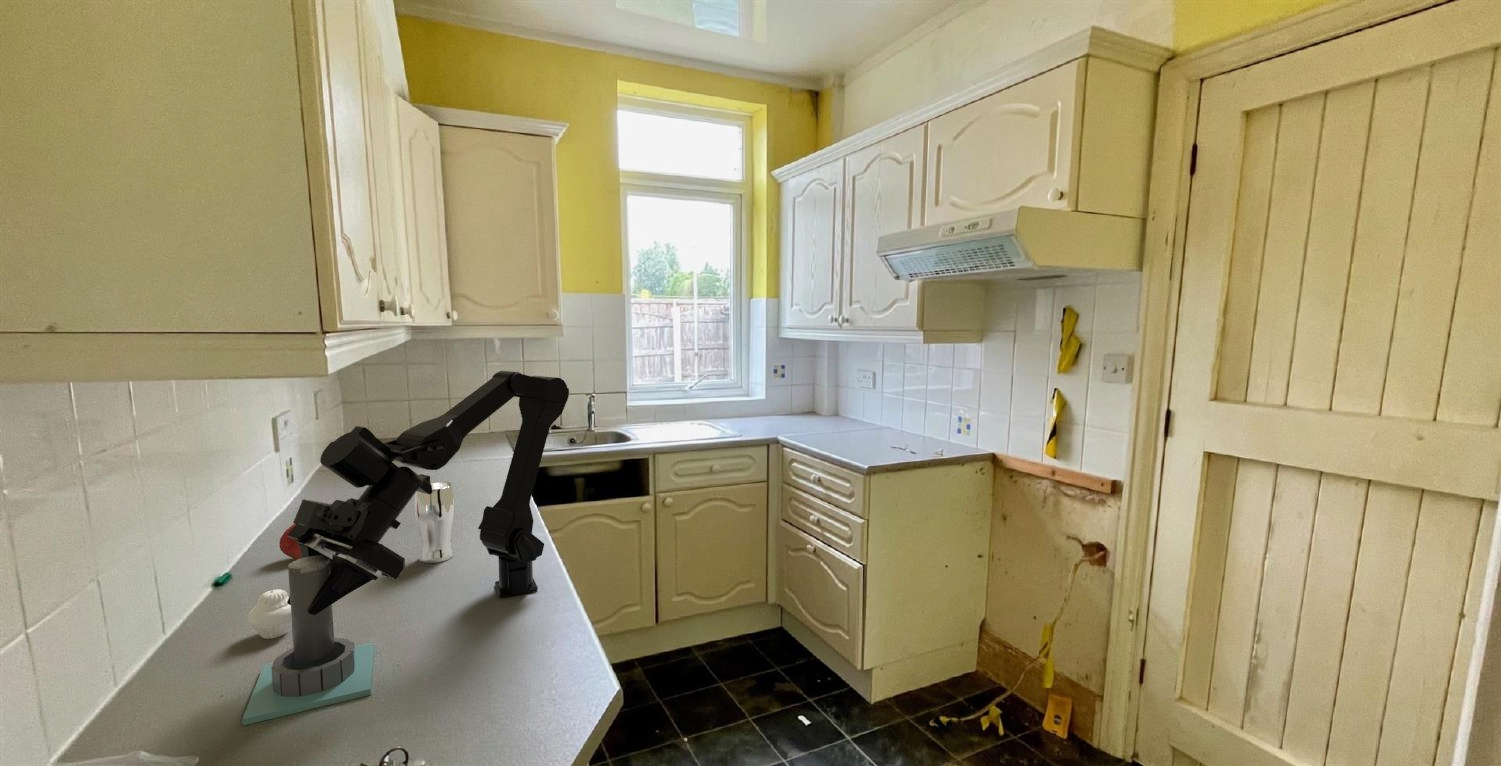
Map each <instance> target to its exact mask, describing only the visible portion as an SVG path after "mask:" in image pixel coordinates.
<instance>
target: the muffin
mask: <svg viewBox="0 0 1501 766" xmlns="http://www.w3.org/2000/svg"><path fill="white" fill-rule="evenodd" d="M257 599H258V600H257V603H256V604H255V606H254V607H253V608H252V609H251V610H250V611H249V613H248V614H247V621H248V622H249V623H250V626H251V627H252V628H253V630H255V631H256V632H257V634H258V635H259V636H260V638H262V639H269V640H271V639H276V638H279V637H281V636H284V635H286V634H287V633H288V632H289V630H290V628H292V618H291V605H289V604H288V603H287V601H288V599H289V596H288V593H287V592H286V591H285V590H283V589H280V588H279V589H271V590H268V591H265V592H264V593H262V594H261V595H260V596H259V597H258V598H257Z"/></svg>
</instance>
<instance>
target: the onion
mask: <svg viewBox="0 0 1501 766" xmlns="http://www.w3.org/2000/svg"><path fill="white" fill-rule="evenodd" d="M295 525H296V524H295V523H293V524H292V525H291V526H289V527H288V528H287V529H286V530H285V531H284V532H283V534H282V535H281V537H280V538H279V549H280V551H281V552H282V553H283V554H284V555H285V556H287V557H289V558H291V559H294V560H298V559H301V558H302V554H301V549H300V548H298V543H299V542H297V541H295V540H294V539H292V538H290V537H288V536H287V535H288V533H289V532H290V531H291V530H292V529H293V527H294V526H295Z"/></svg>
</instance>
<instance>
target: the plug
mask: <svg viewBox="0 0 1501 766" xmlns="http://www.w3.org/2000/svg"><path fill="white" fill-rule="evenodd" d="M287 571H288V583H289V585H288V586H289V588H288V589H289V596H290V603H291V618H292V625H291V630H292V633H291V634H292V645H293V646H292V648H294V659H295V660H296V661H300V662H307V661H313V660H317V659H320V658H323V657H325V656H327V655H329V654H330V653H331V652H333V650H334V649H335V645H334V638H335V633H334V632H335V629H334V614H333V611H334V610H333V604H332V605H330V606H328V607H327V608H325V609H324V610H322V611H321V612H319V613H318V614H316V615H312V614H310V613H308V612H307V610H308V608H309V607H310V605H311V603H312V601H313V600H314V598H315V597H316V595H317V594H318V592H319V590H320V589H321V587H322V586H323V584H324V583H325V581H326V580H327V578H328V577H329V575H330V560H329V557H327V556H309V557H304V558H301V559H298V560H296V559H294V560H293V561H291V562H290V563H288V565H287Z"/></svg>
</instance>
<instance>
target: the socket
mask: <svg viewBox="0 0 1501 766" xmlns="http://www.w3.org/2000/svg"><path fill="white" fill-rule="evenodd" d="M334 645H335V649H334V650H333V652H331V653H330V654H329V655H327V656H325V657H323V658H320V659H317V660H313V661H307V662H300V661H296V660H295V659H294V648H293V647H292V648H289V649H287V650H285V651H284V652H283V653H282V654H280V655H278V656H277V657H276V658H274V660H273V662H272V663H267V664H264V665H263V666H262V669H261V672H260V674H259V676H258V679H257V682H256V684H255V687H254V689H253V691H252V694H251V696H250V699H249V701H248V705H247V706H246V710H245V712H244V714H243V717H242V726H246V725H250V724H255V723H258V722H259V723H260V722H263V721H267V720H271V719H277V718H279V717H284V716H288V715H291V714H296V713H300V712H304V711H308V710H312V709H317V708H321V707H325V706H329V705H334V704H336V703H337V704H338V703H341V702H345V701H350V700H354V699H359V698H362V697H367V696H370V695H371V694H372V684H373V672H374V663H375V662H374V661H375V649H376V644H375V642H368V643H363V644H360V645H359V644H358V645H355V643H354V642H353V641H351V640H349V639H348V638H344V637H343V638H342V637H334Z"/></svg>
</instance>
